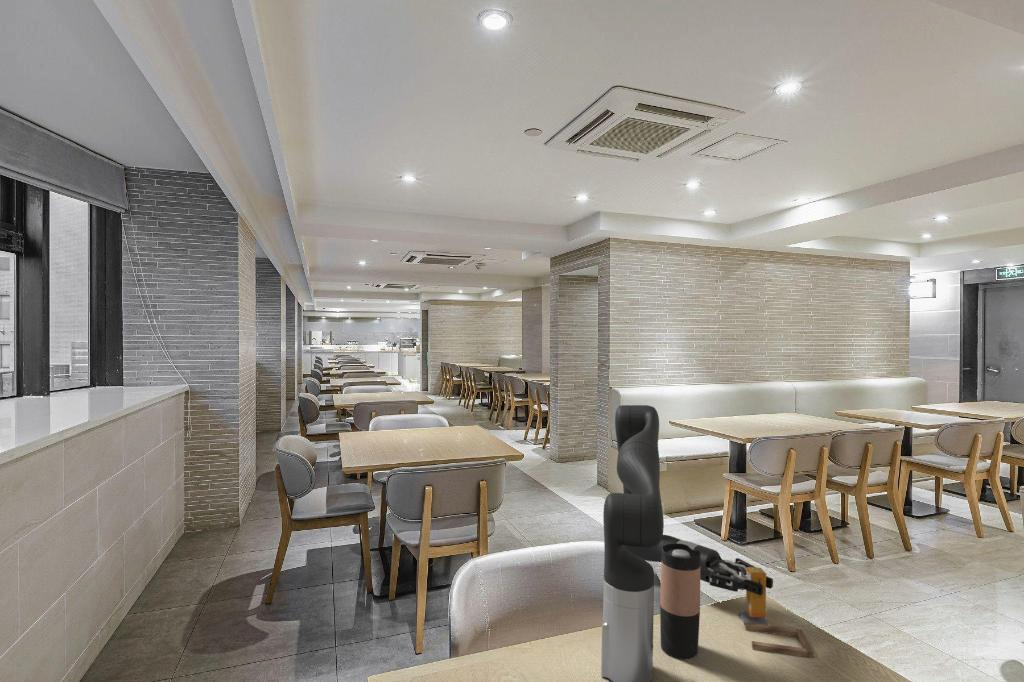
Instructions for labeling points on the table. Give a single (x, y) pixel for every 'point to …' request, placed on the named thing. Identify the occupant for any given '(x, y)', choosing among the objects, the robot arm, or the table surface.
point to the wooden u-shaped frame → (803, 651)
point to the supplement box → (755, 601)
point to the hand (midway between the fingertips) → (767, 587)
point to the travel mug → (680, 600)
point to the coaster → (752, 619)
